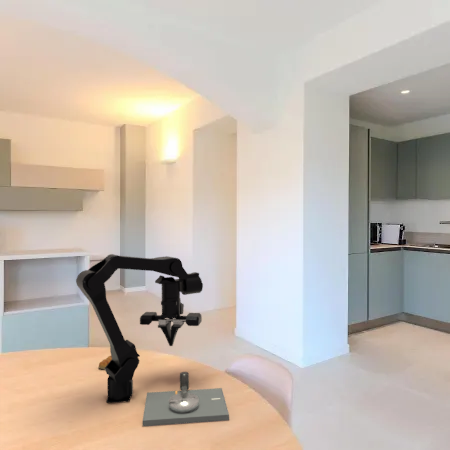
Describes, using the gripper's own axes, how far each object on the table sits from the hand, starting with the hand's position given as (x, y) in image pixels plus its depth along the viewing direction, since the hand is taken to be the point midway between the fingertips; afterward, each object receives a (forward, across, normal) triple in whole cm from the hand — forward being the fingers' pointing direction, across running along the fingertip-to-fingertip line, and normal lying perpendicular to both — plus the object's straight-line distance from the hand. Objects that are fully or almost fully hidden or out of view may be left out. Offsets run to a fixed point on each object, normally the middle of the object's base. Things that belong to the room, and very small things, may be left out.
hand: (171, 345), depth 124 cm
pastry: (+12, +24, -13) cm, 30 cm away
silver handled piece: (+10, -7, +14) cm, 19 cm away
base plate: (+12, -8, +16) cm, 21 cm away
